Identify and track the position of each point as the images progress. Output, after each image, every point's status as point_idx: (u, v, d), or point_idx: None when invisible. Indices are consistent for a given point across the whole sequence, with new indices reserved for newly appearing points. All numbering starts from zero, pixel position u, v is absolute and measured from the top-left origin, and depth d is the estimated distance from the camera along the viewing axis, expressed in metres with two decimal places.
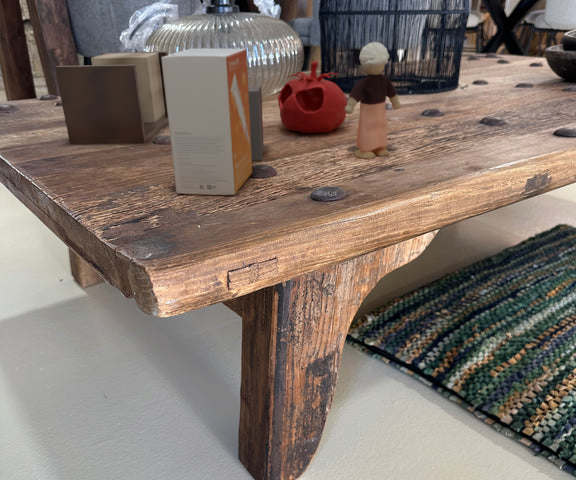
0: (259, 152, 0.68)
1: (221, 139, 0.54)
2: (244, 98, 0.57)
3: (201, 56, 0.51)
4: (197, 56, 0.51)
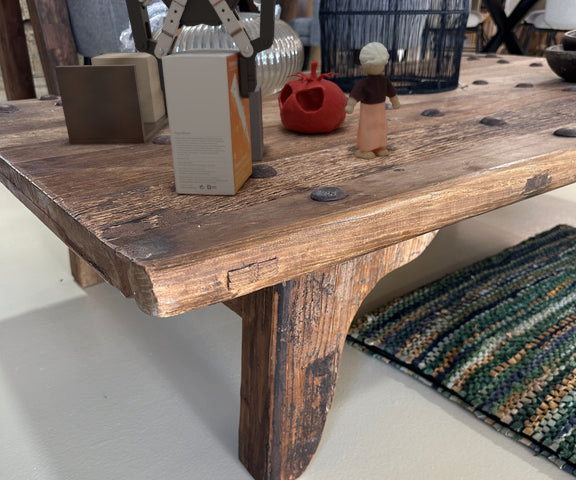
0: (259, 152, 0.68)
1: (221, 139, 0.54)
2: None
3: (201, 56, 0.51)
4: (197, 56, 0.51)
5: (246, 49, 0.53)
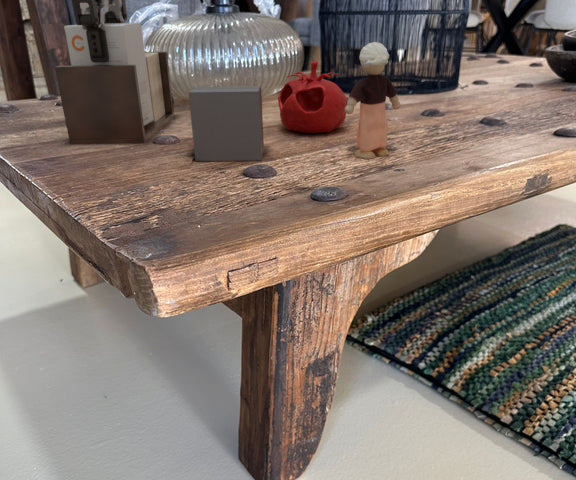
0: (259, 152, 0.68)
1: (146, 81, 0.79)
2: None
3: (133, 23, 0.74)
4: (132, 24, 0.74)
5: (122, 20, 0.78)
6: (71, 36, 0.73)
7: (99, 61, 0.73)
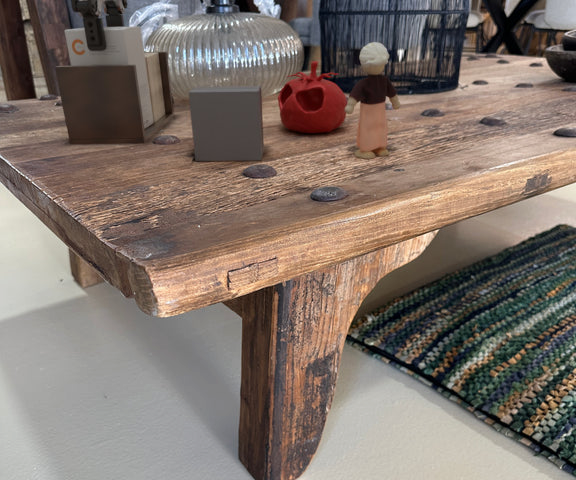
0: (259, 152, 0.68)
1: (146, 84, 0.79)
2: None
3: (133, 27, 0.75)
4: (132, 27, 0.74)
5: (123, 8, 0.78)
6: (71, 40, 0.73)
7: (96, 49, 0.72)
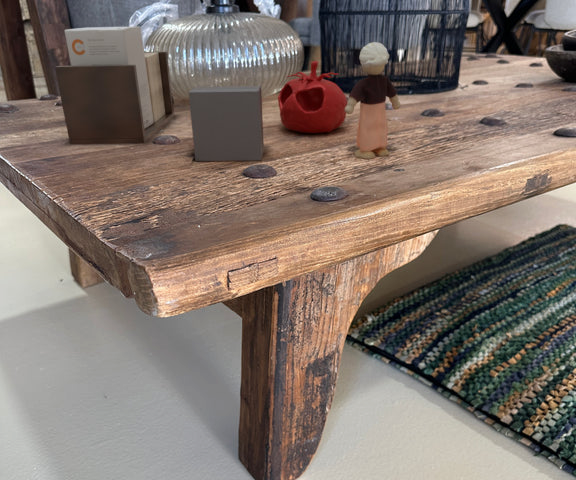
0: (259, 152, 0.68)
1: (146, 84, 0.79)
2: None
3: (133, 27, 0.75)
4: (132, 27, 0.74)
5: None
6: (71, 40, 0.73)
7: None
